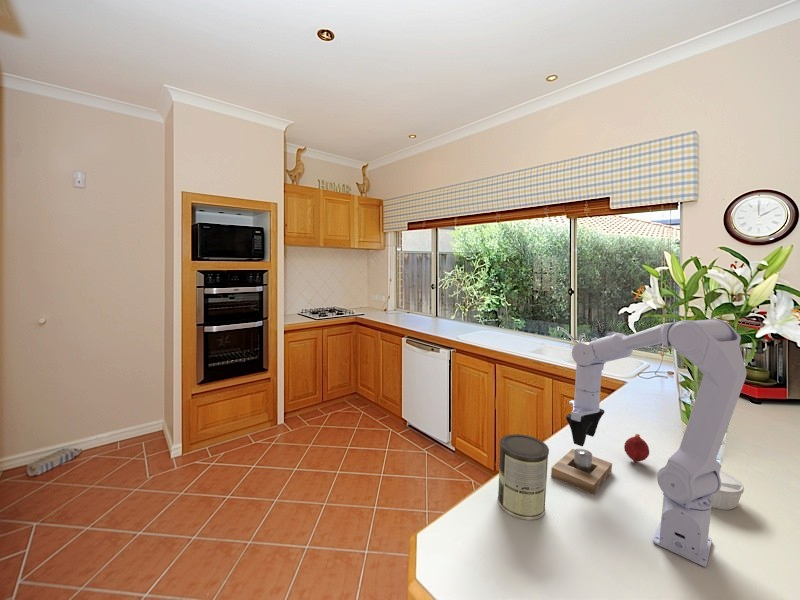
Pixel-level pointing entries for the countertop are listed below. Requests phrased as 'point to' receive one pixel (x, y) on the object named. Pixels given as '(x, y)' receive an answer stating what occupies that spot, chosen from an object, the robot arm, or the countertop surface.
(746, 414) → the countertop surface
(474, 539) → the countertop surface
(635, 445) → the onion
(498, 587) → the countertop surface
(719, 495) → the ramekin
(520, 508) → the coffee can
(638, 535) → the countertop surface
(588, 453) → the brushed metal cylinder
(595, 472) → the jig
